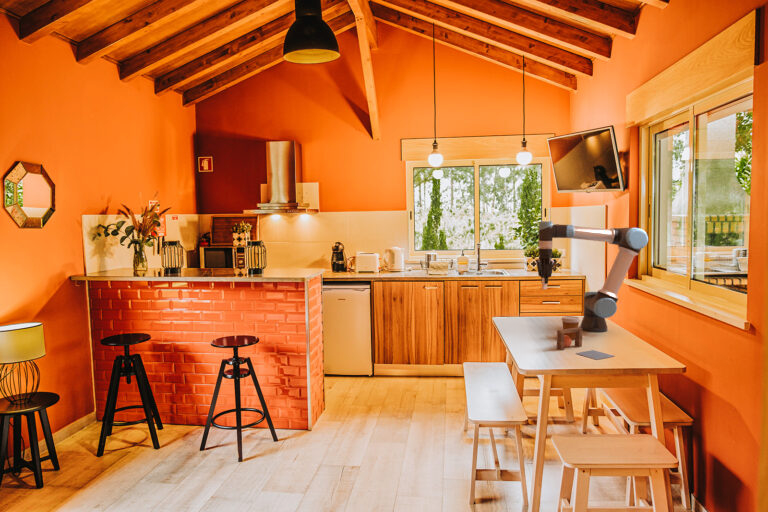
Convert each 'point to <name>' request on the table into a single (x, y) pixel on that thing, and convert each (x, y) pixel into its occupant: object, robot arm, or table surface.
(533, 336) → the table surface
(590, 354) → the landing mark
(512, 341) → the table surface
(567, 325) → the disposable coffee cup
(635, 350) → the table surface
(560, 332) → the bridge
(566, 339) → the ball
